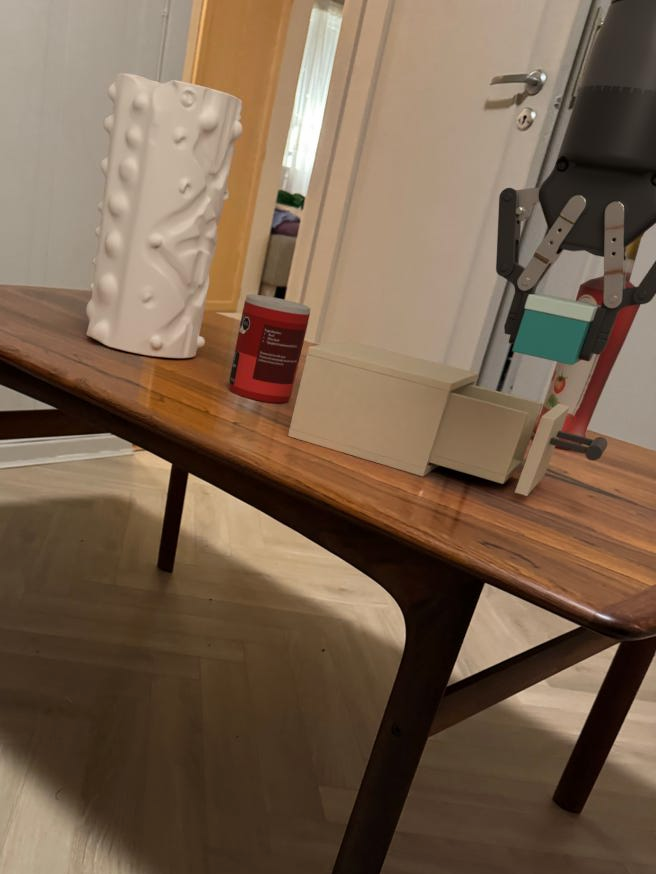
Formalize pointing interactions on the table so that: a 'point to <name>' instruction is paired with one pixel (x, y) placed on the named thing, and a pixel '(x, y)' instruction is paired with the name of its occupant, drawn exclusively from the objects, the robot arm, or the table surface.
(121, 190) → the vase
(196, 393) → the table surface
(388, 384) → the cabinet
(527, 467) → the drawer
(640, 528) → the table surface
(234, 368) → the canned food
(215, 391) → the table surface
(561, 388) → the liquor
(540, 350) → the small lidded box
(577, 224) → the robot arm
